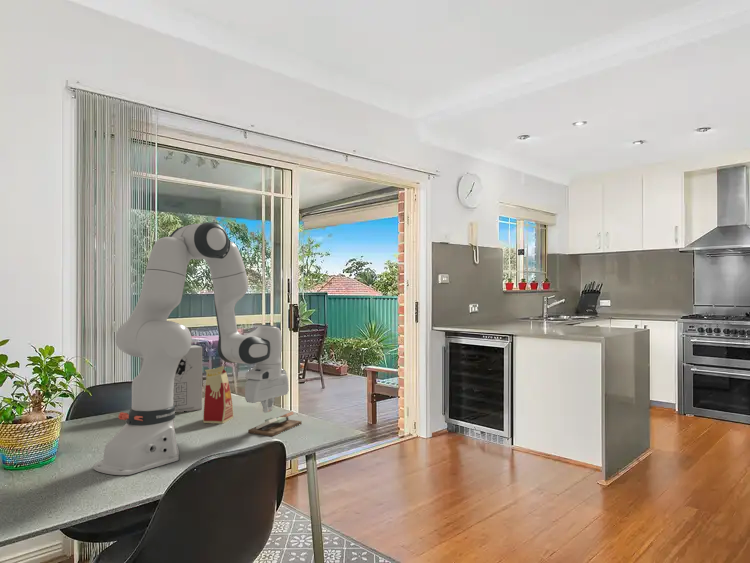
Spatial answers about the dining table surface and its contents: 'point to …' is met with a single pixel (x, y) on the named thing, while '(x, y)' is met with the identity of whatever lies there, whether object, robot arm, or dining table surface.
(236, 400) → the dining table surface
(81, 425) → the dining table surface
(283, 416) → the three-dot tile
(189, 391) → the cereal box
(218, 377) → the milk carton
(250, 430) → the brown flat board
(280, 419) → the two-dot tile
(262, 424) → the one-dot tile
